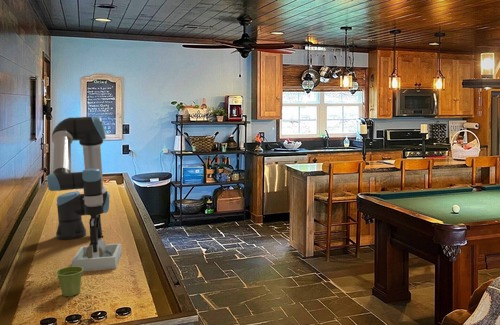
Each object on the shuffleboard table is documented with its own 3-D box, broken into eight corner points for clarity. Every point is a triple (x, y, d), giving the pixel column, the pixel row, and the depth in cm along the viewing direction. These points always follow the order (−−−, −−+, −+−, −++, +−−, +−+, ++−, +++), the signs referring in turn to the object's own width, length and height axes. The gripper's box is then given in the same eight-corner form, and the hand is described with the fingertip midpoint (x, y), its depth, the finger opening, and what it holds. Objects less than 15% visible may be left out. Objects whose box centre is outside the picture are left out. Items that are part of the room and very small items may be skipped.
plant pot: (88, 288, 173) (86, 265, 172) (80, 298, 164) (78, 274, 163) (63, 289, 173) (61, 266, 172) (53, 299, 164) (51, 275, 163)
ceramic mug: (85, 262, 198) (84, 244, 197) (89, 256, 206) (88, 239, 205) (111, 260, 199) (110, 243, 198) (114, 254, 207) (113, 238, 206)
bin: (82, 257, 211) (81, 246, 211) (121, 253, 214) (120, 243, 213) (72, 272, 191) (71, 260, 191) (115, 268, 194) (115, 257, 193)
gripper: (89, 200, 209) (93, 249, 212) (79, 210, 189) (84, 264, 191) (106, 199, 210) (110, 248, 213) (99, 209, 190) (103, 263, 192)
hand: (97, 256), depth 202 cm, fingers closed on ceramic mug, 8 cm apart
